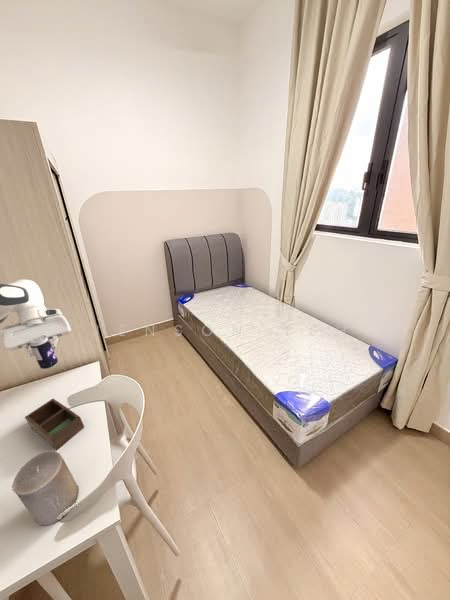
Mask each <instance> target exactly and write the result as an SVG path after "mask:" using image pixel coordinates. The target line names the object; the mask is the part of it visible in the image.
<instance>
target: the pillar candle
mask: <svg viewBox="0 0 450 600" xmlns="http://www.w3.org/2000/svg"><path fill="white" fill-rule="evenodd" d="M11 488H12V489H11V490H12V491H13V492H14V493H15V494H16V495H17V498H18V499H19V500H20V501H21V503H22V504H23V505H24V507H25V508H26V509H27V511H28V512H29V514H30V515H31V516H32V517H33V519H34V520H35V522H36V523H37V524H38V525H40V526H42V527H43V526H50V525H53V524H56V523H58V522H59V521H58V519H57V517H58V516H59V515H60V514H61V513H63V512H64V511H65V510H66V509H68V508H69V507H71V506H72V505H73V504H74V503H75V504H76V503H77V500H78V498H79V493H80V489H79V486H78V484H77V482H76V480H75V479H74V477H73V474H72V473H71V471H70V469H69V467H68V465H67V463H66V461H65V459H64V457H63V456H62V455H61V453H60V452H58V451H57V450H56V451H55V450H51V451H50V450H49V451H44V452H42V453H40V454H37V455H36V456H33V457H32V458H31V459H29V460H28V461H27V462H26V463H25V464H24V465H23V466H22V467H21V468H20V469H19V471H18V472H17V473H16V475H15V477H14V479H13V482H12V485H11ZM75 504H74V505H75Z"/></svg>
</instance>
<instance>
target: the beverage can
mask: <svg viewBox="0 0 450 600" xmlns="http://www.w3.org/2000/svg"><path fill="white" fill-rule="evenodd" d="M51 344H52V343H51V341H50V339H48V338H47V337H46V336H44V335H42V336H41V337H37V338H36V337H35V338H33V339H32V340H30V345H29V348H30V349H31V350H32V351H33V353H34V355H35V356H34V357H35V359H36V362H37V364H38V366H39V368H40V369H44V370H50V369H52V368H54V367H55V366H56V365H57V364H58V362H59V359H58V357H57V355H56V353H55V349H52V346H51Z"/></svg>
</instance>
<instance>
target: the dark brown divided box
mask: <svg viewBox="0 0 450 600" xmlns="http://www.w3.org/2000/svg"><path fill="white" fill-rule="evenodd" d="M24 419H25V420H26V422H27V424H28V426H29V428H31V429H32V430H33V431H34V432H35V433H36V434H37V435H39V436H40V437H41V438H42V439H43V440H44V441H45V442H46V443H48V444H49V445H50V446H51V447H52V448H54V449H55V450H56V451H58V450H59V449H61V448H62V447H64V445H65V444H67V443H68V442H69V441H70V440H71V439H73V437H75V436H76V435H78V433H79V432H82V430H83V429H84V428H85V425H84V423H83V420H82V418H81V416H79V415H78V414H76V413H75V412H74V411H72V409H69V408H68V407H66V406H65V405H63V403H61V402H59V401H58V400H56V399H55V398H51V399H50V400H48V401H46V402H45V403H43V404H42V405H41V406H39V407H38V408H36V409H34V410H33V411H32V412H30V413H28V414H27V415H26V416H24Z"/></svg>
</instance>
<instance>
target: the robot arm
mask: <svg viewBox="0 0 450 600" xmlns="http://www.w3.org/2000/svg"><path fill="white" fill-rule="evenodd" d="M12 312H13V313H14V312H15V313H17V317H18V320H19V322H17V323H13V324H11V325H5V326H4V327H3V328H1V330H0V337H1V339H2V346H3V349H5V350H6V351H9V352H12V351H16V350H19V349H23V350H24V351H25V352H27V355H28V357H29V358H31V357H32V358H33V357H35V355H34V353H33V351H32V349H31V350H30V340H32V339H33V338H35V337H36V338H37V337H41V336H42V335H44V336H46V337H47V338H48V339H49V340H53V343H51V346H52V349H53V350H56V349H58V345H57V344H58V342H59V337H62V336H65V335H69V334H71V332H72V328H71V325H70V323H69V321H68V320H67V318H66V317H65V316H64V315H63V312H62V311H61V310H60V309H59V308H47V307H46V306H45V299H44V295H43V293H42V290H41V288H40V286H39V285H38V284H37V282H36V281H34V280H31V279H25V278H23V279H17V280H15V281H14V282H11V283H0V324H2V323H4V321H5V320H6V319H7V317H9V315H10V313H12Z"/></svg>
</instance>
